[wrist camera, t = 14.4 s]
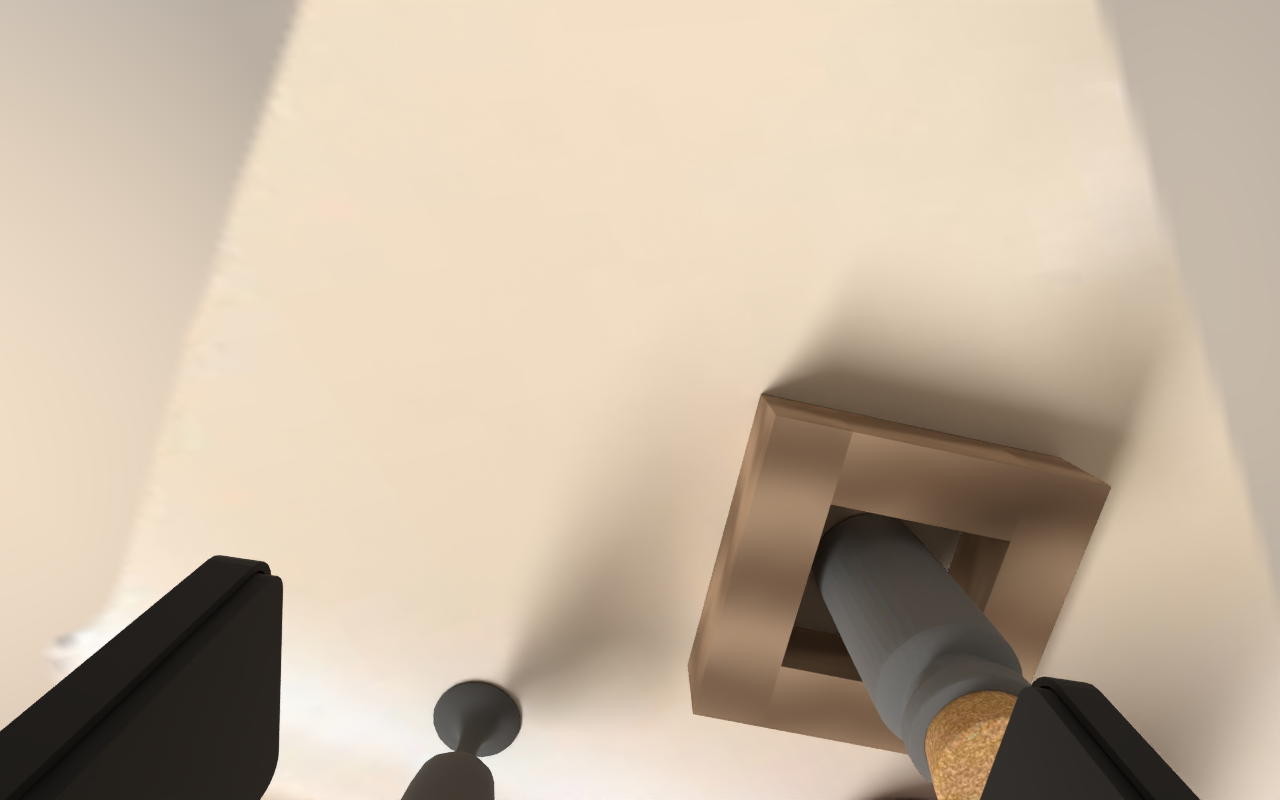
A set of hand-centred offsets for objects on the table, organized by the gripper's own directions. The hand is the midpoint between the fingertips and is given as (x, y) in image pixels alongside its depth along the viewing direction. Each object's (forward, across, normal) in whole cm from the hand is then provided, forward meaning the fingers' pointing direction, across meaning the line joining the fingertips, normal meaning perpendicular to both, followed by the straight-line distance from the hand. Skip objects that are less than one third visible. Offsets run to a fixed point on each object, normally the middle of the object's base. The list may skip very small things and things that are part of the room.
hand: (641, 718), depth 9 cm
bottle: (+27, -14, +10) cm, 32 cm away
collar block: (+27, -14, +11) cm, 32 cm away
